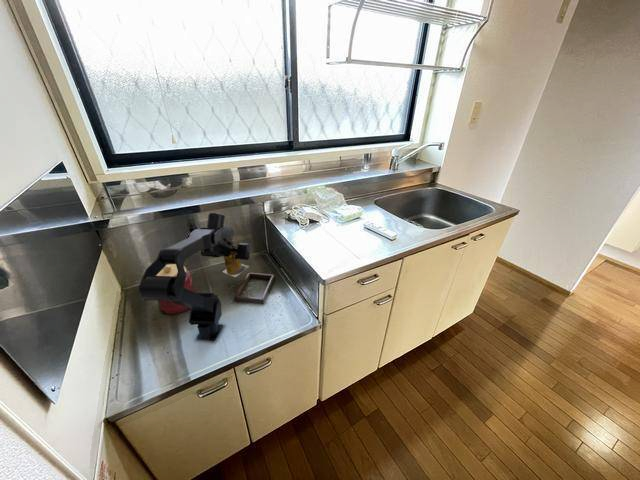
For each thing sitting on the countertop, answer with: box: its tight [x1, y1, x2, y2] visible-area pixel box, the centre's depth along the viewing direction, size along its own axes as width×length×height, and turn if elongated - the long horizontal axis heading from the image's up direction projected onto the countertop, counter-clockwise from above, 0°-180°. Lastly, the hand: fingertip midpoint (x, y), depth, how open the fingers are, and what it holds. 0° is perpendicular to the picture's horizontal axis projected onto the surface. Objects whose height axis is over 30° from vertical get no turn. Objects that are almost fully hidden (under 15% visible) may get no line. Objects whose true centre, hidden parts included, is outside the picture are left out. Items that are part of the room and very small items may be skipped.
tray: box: [234, 271, 275, 305], centre depth 108 cm, size 16×12×2 cm
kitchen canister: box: [156, 264, 197, 315], centre depth 97 cm, size 13×13×18 cm
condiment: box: [222, 243, 250, 278], centre depth 107 cm, size 7×8×12 cm
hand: (234, 254), depth 108 cm, fingers closed on condiment, 6 cm apart
